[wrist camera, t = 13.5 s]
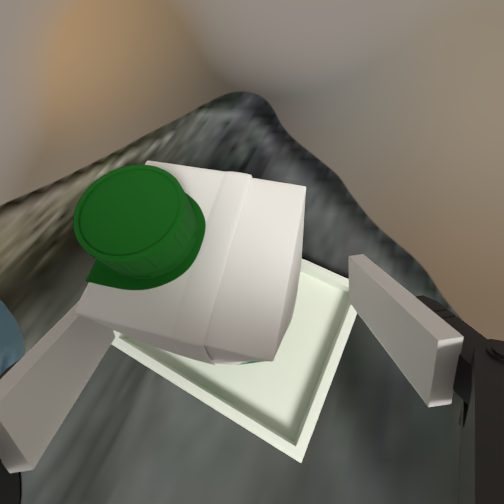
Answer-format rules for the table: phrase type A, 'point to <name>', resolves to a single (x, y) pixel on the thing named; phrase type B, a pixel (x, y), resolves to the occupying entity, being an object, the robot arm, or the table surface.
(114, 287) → the soya milk
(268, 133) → the table surface
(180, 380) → the tray
